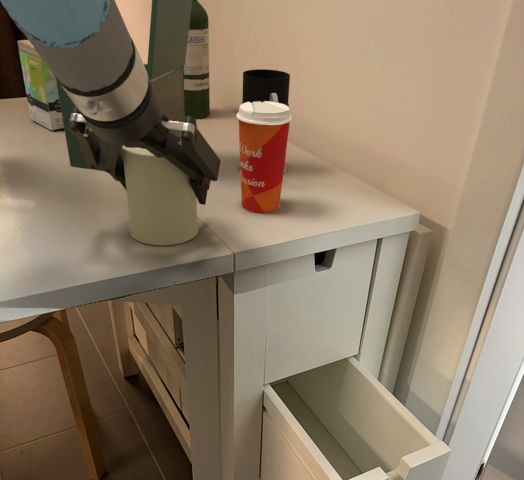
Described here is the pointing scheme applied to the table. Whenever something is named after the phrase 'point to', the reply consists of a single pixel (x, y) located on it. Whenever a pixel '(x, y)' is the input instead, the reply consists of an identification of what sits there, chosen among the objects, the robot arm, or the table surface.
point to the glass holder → (266, 88)
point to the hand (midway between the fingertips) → (169, 191)
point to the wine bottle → (197, 65)
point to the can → (158, 199)
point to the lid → (168, 36)
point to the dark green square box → (169, 99)
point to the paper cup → (262, 153)
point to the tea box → (40, 88)
